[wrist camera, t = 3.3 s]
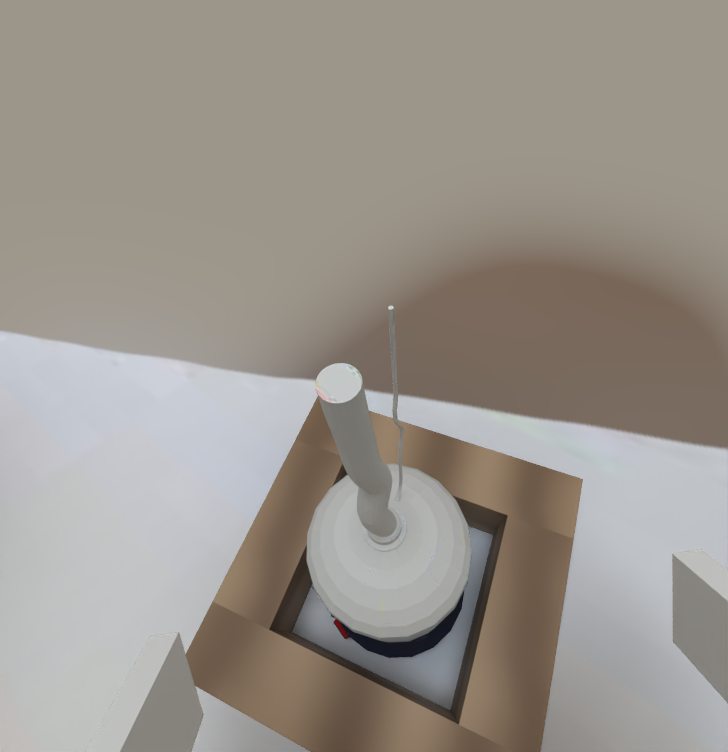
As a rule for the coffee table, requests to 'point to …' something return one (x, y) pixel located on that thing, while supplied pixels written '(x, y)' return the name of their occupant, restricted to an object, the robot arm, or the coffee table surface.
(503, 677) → the dock
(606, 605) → the coffee table surface
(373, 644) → the humidifier
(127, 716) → the robot arm
